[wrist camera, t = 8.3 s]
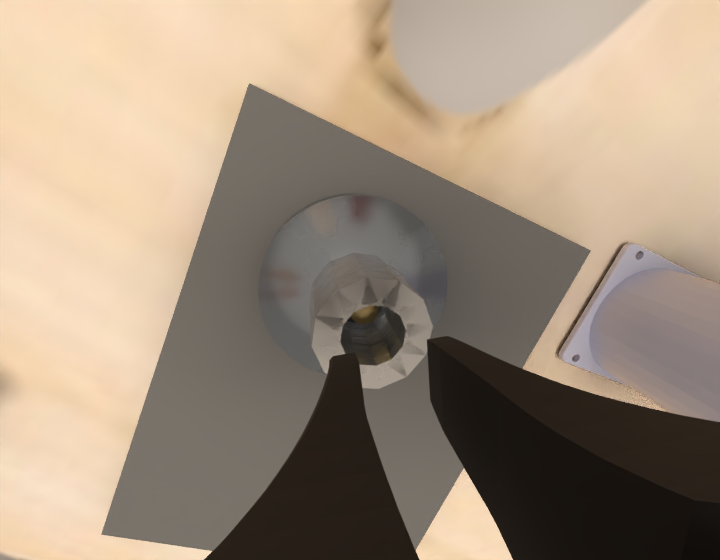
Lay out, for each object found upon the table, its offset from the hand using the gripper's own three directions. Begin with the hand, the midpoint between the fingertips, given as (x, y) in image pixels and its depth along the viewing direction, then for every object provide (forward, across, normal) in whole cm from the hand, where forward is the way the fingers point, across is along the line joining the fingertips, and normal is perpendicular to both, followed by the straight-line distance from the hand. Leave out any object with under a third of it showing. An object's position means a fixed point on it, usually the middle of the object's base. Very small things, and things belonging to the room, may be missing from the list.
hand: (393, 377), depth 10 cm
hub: (+8, 0, 0) cm, 8 cm away
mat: (+9, +1, +6) cm, 11 cm away
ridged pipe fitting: (+7, 0, 0) cm, 7 cm away
